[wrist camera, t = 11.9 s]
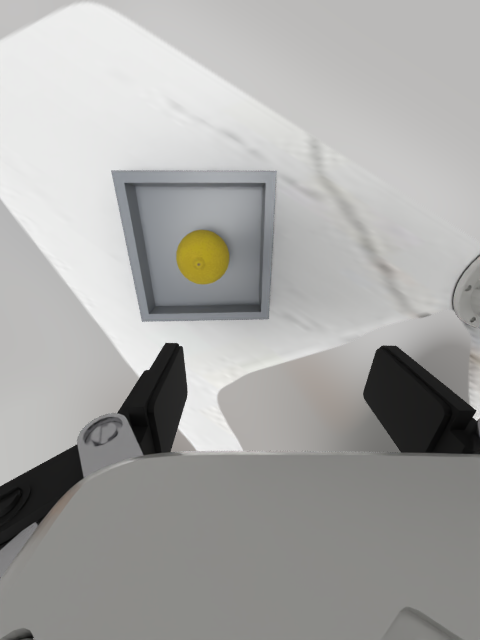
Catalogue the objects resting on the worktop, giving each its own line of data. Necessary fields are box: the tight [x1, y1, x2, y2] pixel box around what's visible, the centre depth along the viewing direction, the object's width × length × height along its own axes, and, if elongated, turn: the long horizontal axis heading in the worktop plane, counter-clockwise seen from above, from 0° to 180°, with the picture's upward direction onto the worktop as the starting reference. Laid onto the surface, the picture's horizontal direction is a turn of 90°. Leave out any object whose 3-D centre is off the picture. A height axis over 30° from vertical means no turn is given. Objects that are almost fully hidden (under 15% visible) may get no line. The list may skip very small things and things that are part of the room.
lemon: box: [176, 230, 229, 284], centre depth 24 cm, size 6×6×8 cm
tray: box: [111, 171, 276, 322], centre depth 27 cm, size 16×16×4 cm
